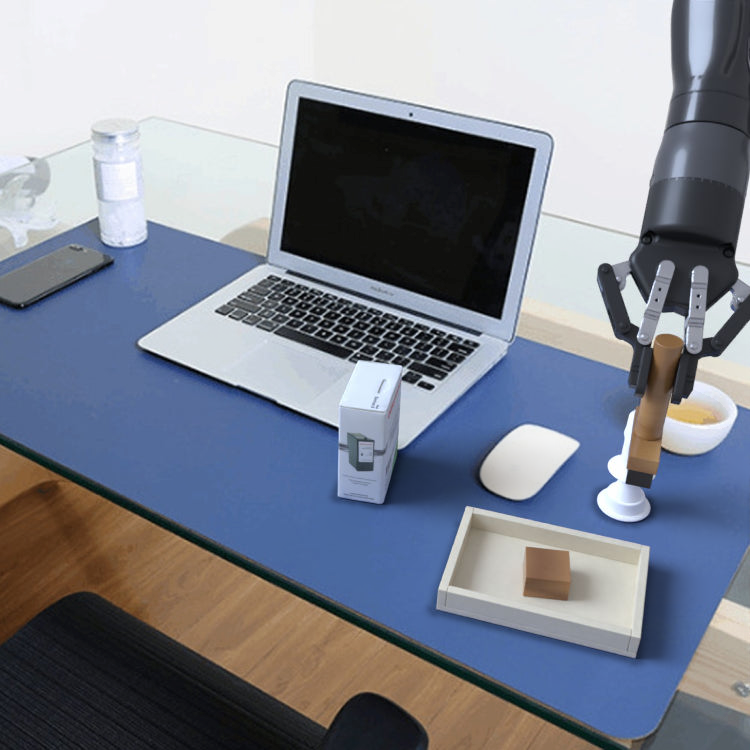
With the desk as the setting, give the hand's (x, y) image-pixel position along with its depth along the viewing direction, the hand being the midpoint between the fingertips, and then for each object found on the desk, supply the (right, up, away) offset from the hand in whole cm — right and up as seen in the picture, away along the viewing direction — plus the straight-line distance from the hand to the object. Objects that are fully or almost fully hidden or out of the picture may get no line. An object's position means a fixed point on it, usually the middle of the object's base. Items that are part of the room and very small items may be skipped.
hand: (657, 398), depth 78 cm
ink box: (-23, -9, +27) cm, 36 cm away
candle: (+3, -12, +24) cm, 27 cm away
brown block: (-7, -17, +14) cm, 23 cm away
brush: (0, -5, +6) cm, 8 cm away
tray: (-7, -18, +14) cm, 24 cm away
